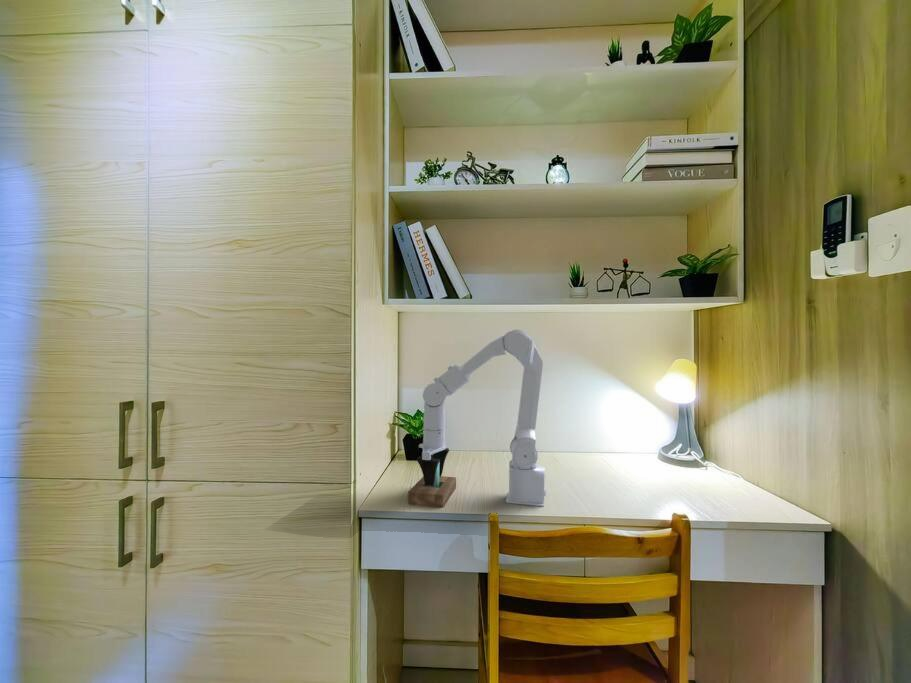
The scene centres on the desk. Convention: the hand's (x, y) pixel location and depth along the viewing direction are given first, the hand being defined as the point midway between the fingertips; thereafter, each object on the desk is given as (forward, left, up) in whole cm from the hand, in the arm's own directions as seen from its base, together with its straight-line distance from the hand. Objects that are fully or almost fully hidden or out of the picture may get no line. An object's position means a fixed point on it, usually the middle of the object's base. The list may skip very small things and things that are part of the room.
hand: (433, 480), depth 111 cm
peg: (0, 0, -4) cm, 4 cm away
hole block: (0, 0, -4) cm, 4 cm away
